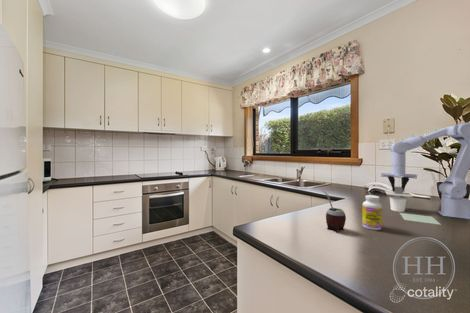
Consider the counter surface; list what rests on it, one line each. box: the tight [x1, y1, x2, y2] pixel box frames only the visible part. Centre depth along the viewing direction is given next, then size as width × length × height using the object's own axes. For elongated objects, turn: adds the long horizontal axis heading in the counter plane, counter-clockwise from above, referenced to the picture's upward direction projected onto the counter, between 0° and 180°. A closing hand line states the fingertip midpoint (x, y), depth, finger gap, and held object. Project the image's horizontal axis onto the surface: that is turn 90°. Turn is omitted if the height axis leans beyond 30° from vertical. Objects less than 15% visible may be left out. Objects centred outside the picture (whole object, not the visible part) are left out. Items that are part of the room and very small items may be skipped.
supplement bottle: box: [361, 194, 383, 231], centre depth 84 cm, size 7×7×13 cm
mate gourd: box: [322, 190, 347, 233], centre depth 82 cm, size 8×8×15 cm
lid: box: [384, 186, 414, 198], centre depth 107 cm, size 10×10×4 cm
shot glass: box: [389, 196, 407, 213], centre depth 107 cm, size 7×7×7 cm
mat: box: [399, 212, 442, 226], centre depth 94 cm, size 12×12×1 cm
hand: (397, 191), depth 107 cm, fingers closed on lid, 3 cm apart
